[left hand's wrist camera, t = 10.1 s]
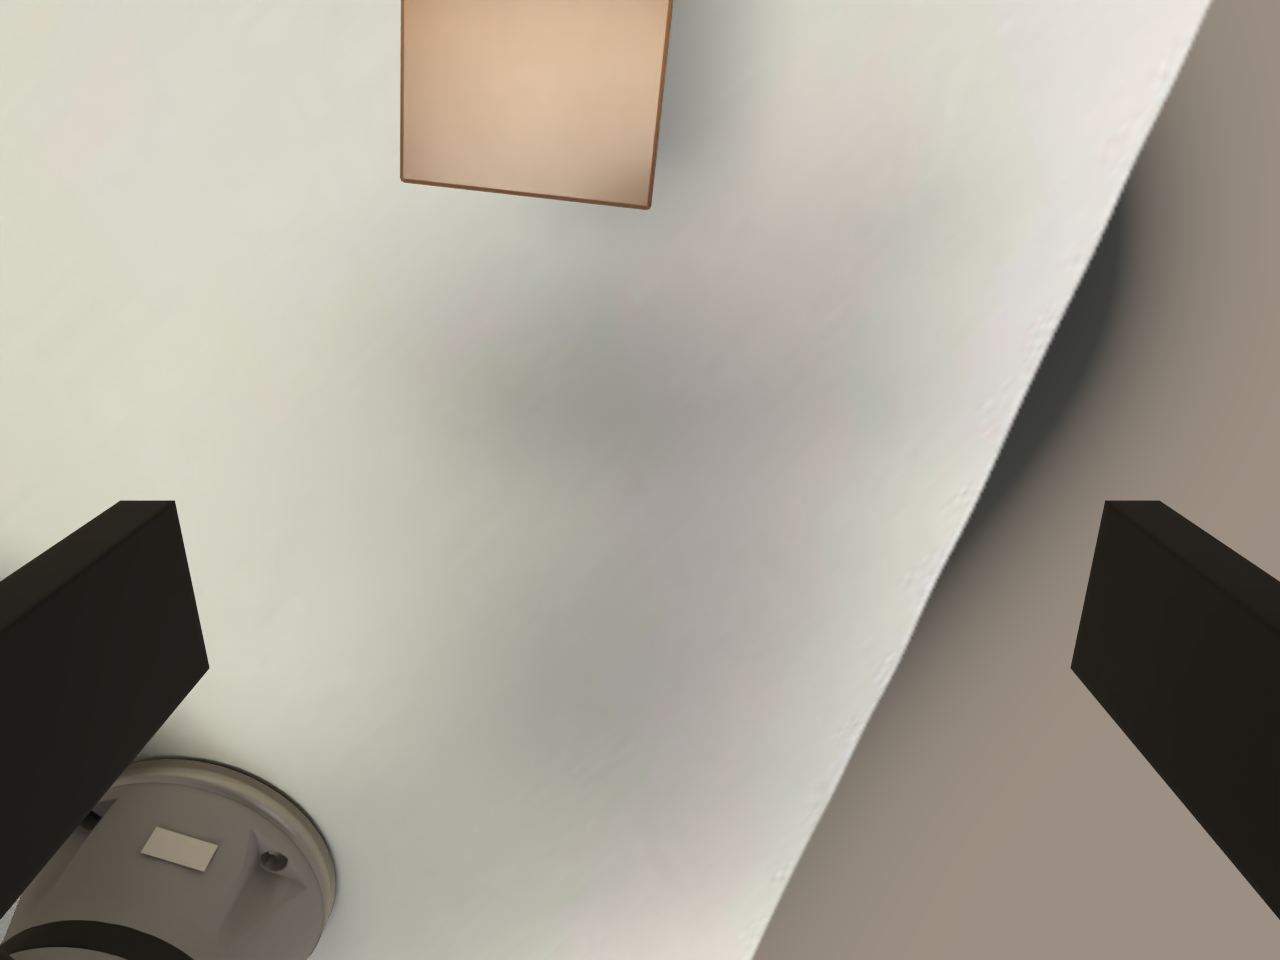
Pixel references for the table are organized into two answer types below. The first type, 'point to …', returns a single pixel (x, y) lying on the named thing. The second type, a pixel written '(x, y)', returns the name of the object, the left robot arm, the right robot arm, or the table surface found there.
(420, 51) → the bar
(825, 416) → the table surface
